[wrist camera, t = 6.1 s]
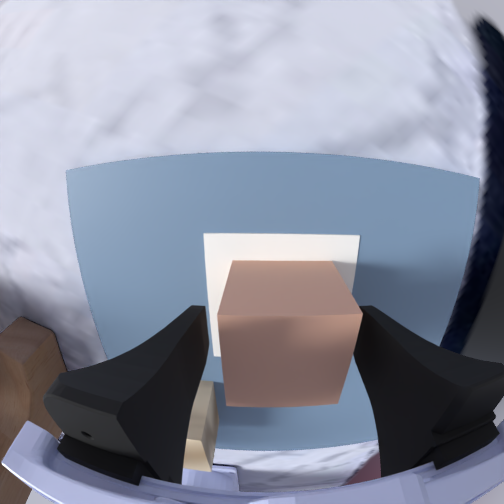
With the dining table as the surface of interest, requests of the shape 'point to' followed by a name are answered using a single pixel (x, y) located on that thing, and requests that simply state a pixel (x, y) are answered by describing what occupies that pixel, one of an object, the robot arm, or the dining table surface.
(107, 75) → the dining table surface
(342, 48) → the dining table surface
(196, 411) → the maple block
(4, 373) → the wooden block
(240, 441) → the board
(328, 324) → the terracotta block
